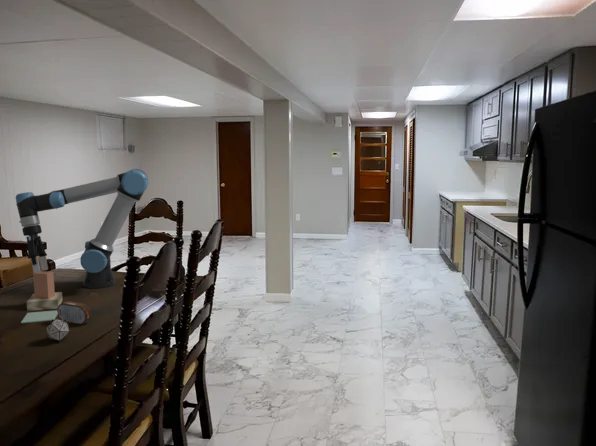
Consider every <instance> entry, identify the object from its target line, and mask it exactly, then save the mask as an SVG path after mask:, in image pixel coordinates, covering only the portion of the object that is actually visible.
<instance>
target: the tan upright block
mask: <svg viewBox="0 0 596 446" xmlns="http://www.w3.org/2000/svg"><path fill="white" fill-rule="evenodd" d="M54 276H55V275H54V271H46V270H43V271H42V270H40V271H39V272H33V273H32V279H33V280H32V281H33V290H34V291H33V292H34V293H33V294H34V295H35V298H46V299H49V298H51V297H54V296H55V292H56V291H55V277H54Z"/></svg>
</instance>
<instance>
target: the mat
mask: <svg viewBox="0 0 596 446" xmlns="http://www.w3.org/2000/svg"><path fill="white" fill-rule="evenodd" d="M57 316H58V312H57V309H55V310H47V311H44V310H43V311H34V312H33V311H31V312H27V313H26V314H25V316H24V317H23V318H22V320H21V322H20V323H21V324H28V323H39V322H53V321H54V320H56V319H55V318H56V317H57ZM52 320H53V321H52Z"/></svg>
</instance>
